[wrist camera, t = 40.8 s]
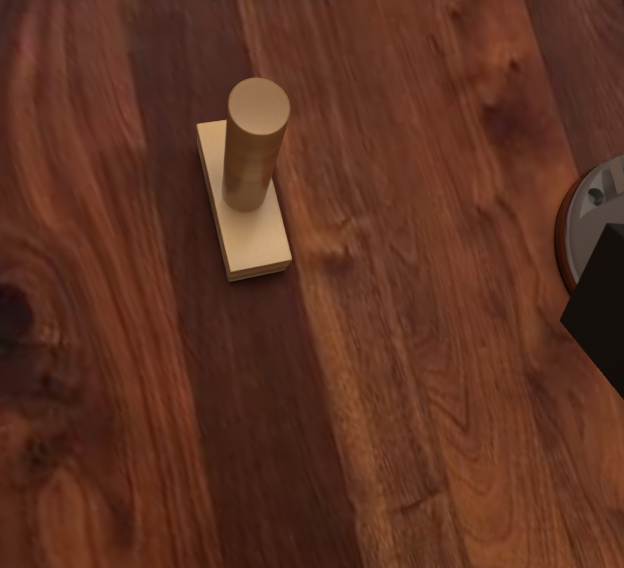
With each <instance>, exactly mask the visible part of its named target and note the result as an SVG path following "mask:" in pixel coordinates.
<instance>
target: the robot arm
mask: <svg viewBox="0 0 624 568" xmlns="http://www.w3.org/2000/svg"><path fill="white" fill-rule="evenodd" d="M556 251H557V257H558V262H559V266H560V269H561V273H562V275H563V278H564V281H565V283H566V285H567V287H568V289H569V291H570V293H571V294H572V296H571V298H570V300H569V302H568V304H567V306H566V308H565V310H564V312H563V314H562V316H561V319H560V321H561V323H562V324H563V325H564V326H565V328H566V329H567V330H568V331H569V333H570V334H571V335H572V336H573V338H574V339H575V340H576V341H577V342H578V344H579V345H580V346H581V347H582V349H583V350H584V351H585V352H586V354H587V355H588V356H589V357H590V359H591V360H592V361H593V362H594V364H595V365H596V366H597V367H598V368H599V370H600V371H601V372H602V373H603V375H604V376H605V377H606V378H607V380H608V381H609V382H610V383H611V385H612V386H613V387H614V388H615V389H616V391H617V392H618V393H619V394H620V396H621V397H622V398H623V399H624V155H620V156H616V157H614V158H612V159H609V160H607V161H605V162H604V163H602V164H600V165H598V166H597V167H595V168H593V169H591V170H589V171H588V172H587V173H585V174H584V175H583V176H581V177H580V178H579V179H578V180H577V181H576V182H575V184H574V185H573V186H572V187H571V189H570V190H569V192H568V193H567V195H566V197H565V199H564V200H563V203H562V205H561V208H560V211H559V215H558V219H557V225H556Z"/></svg>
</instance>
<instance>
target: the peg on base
mask: <svg viewBox="0 0 624 568" xmlns="http://www.w3.org/2000/svg"><path fill="white" fill-rule="evenodd" d="M289 116H290V102H289V99H288V97H287V95H286V93H285V92H284V91H283V89H282V88H281V87H280V86H279V85H277V84H276V83H274V82H272V81H270V80H268V79H264V78H249V79H246V80H244V81H241V82H240V83H238V84H237V85H236V86H235V87H234V88H233V89H232V91H231V93H230V95H229V98H228V106H227V120H222V121H215V122H208V123H201V124H197V125H196V127H197V146H198V151H199V155H200V159H201V164H202V168H203V173H204V177H205V181H206V186H207V190H208V194H209V199H210V203H211V208H212V212H213V216H214V221H215V225H216V229H217V234H218V238H219V242H220V247H221V251H222V256H223V260H224V264H225V269H226V273H227V277H228V281H229V282H231V281H236V280H241V279H246V278H250V277H255V276H260V275H265V274H270V273H274V272H279V271H284V270H285V269H286V268H287V266H288V265H289V263H290V262H291V260H292V257H291V253H290V249H289V245H288V240H287V236H286V232H285V228H284V224H283V220H282V216H281V212H280V208H279V204H278V200H277V196H276V192H275V188H274V184H273V180H272V173H273V170H274V166H275V163H276V160H277V156H278V153H279V150H280V146H281V143H282V140H283V136H284V133H285V130H286V126H287V123H288V120H289Z"/></svg>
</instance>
